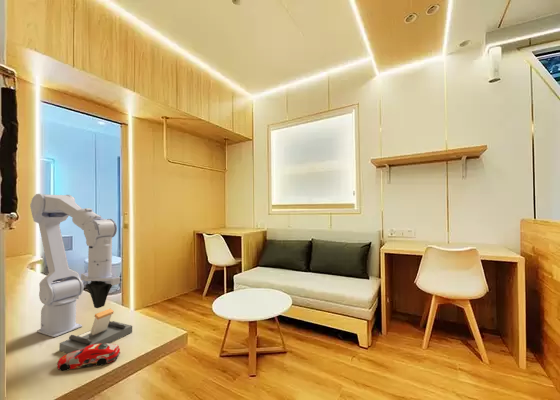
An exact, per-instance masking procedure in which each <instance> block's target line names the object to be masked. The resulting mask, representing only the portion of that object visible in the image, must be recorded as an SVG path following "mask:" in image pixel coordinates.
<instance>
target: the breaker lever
mask: <svg viewBox="0 0 560 400" xmlns="http://www.w3.org/2000/svg"><path fill="white" fill-rule="evenodd" d="M114 313H115V312H114V310H113V309H111V308H108V309H105V310H102V311H99V312H97V313H95V314H94V316H93V317H94V320H93V324H92V326H91V332H90V334H89V337H92V336H94V335H97V334H99V333H101V332H103V331H106V330H107V329H108V324H109V321H111V317H112V315H113V314H114Z"/></svg>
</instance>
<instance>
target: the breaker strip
mask: <svg viewBox="0 0 560 400" xmlns="http://www.w3.org/2000/svg"><path fill="white" fill-rule="evenodd" d="M90 332H91V330H88V331H85V332H83V333H81V334H78V335H74V334H71V335H69V337H68V339H67V340H64V341H61V342H59V351H60V352H62V353H65V354H68V353H71V352H74V351H78V350H81V349H83V348H85V347H86V346H89V345H92V344H100V343H109V344H112V343H114V342H115V341H118V340H119V339H121V338H124V337H126V336H128V335H129V334H131V333H133V325H132V324H127V323H123V322H118V321H115V320H112V321H111V320H110V321H109V324H108V329H107V330H106V331H103V332H101V333H99V334H97V335H94V336H92V337H89V334H90Z"/></svg>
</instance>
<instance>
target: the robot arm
mask: <svg viewBox="0 0 560 400" xmlns="http://www.w3.org/2000/svg"><path fill="white" fill-rule="evenodd" d="M30 211H31V215H32V220H33V222H35V223H37V224H38V227H39V231H40V237H41V241H42V245H43V246H42V247H43V251H44V257H45V261H46V267H47V270H48V274H47V275H46V276H45V277H43V278H42V280H41V281H40V282H39V294H38V296H39V301H40V302H41V303H42V304H43V306H42V307H41V310H40V329H37V330H36V332H37V333H40V334H43V335H46V336H49V337H52V338H56V337H58V336H60V335H64V334H66V333H69V332H71V331H73V330H76V329H79V328H81V327H83V324H80V323H77V300H79V299H80V296H81V295H82V293H83V291H84V288H86V289H87V291H88V292H89V294H90V297H91V300H92V303H93V306H94V308H95V309H100V308H102V307H105V305H106V302H107V299H108V298H107V297H108V295H109V293H110V291H111V289H112V287H113V286H116V285H119V284H120V283H121V277H120V276H117V275H115V274H113V273H112V268H113V267H112V264H113V263H112V261H113V260H112V259H113V238H114V237H115V236H116V235H117V231H118V227H117V223H116V222H115V220H114V219H113V218H103V217H102V216H101V215H99V214H97V213H95V212H94V211H93V208H90V207H88V208H87V207H86V208H82V207H81V206H80V205H78V204H77V203H76V199H75V197H73V196H72V195H70V194H65V195H64V194H44V193H43V194H41V193H36V194H34V196H33V197H32V198H31V201H30ZM68 217H71V219H72V223H73V224H74V225H76V226H77V227H78V228H80V229H81V230H82V231H83V235H84V237H85V240H86V241H85V243H86V246H88V251H87V253H88V256H87V257H88V260H87V261H88V262H87V272H83V273H80V274H79V272H77V271H75V270H72V269H71V268H70V267H69V262H68V258H67V253H66V249H65V248H66V247H65V244H64V240H63V236H62V231H61V227H60V225H61V223H62V222H65V221H66V220H68ZM83 281H84V282H90V283H86V284H85V287H84V282H83Z"/></svg>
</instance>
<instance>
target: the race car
mask: <svg viewBox="0 0 560 400" xmlns="http://www.w3.org/2000/svg"><path fill="white" fill-rule="evenodd" d="M120 354H121V348H120V346H119V344H116V343H115V344H114V343H100V344H92V345H89V346H86V347H85V348H83V349H81V350H78V351H74V352H71V353H65V354H64V355H63V356H62V357H60V358H59V359H58V361H57V363H56V368H57V370H58V371H61V372H64V371H65V372H67V371H69V370H74V369H75V370H76V369H80V368H81V369H82V368H89V367H94V366H95V367H96V366H97V365H98V366H105V365H106V364H109V363H112V362H114V361H116V359H118V358H119V357H120V356H119V355H120Z"/></svg>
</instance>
